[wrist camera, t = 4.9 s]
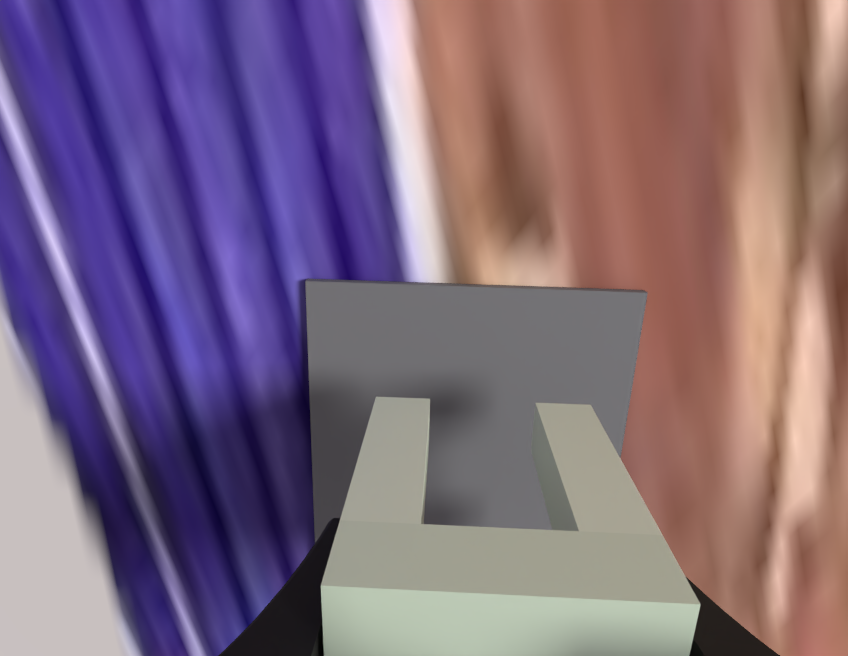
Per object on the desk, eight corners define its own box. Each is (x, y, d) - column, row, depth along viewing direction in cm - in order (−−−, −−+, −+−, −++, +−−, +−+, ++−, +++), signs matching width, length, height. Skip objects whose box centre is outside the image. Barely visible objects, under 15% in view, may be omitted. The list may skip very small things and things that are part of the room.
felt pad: (599, 564, 20) (601, 570, 19) (317, 554, 20) (315, 560, 19) (643, 290, 16) (647, 292, 16) (307, 278, 16) (305, 281, 16)
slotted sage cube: (568, 579, 16) (645, 854, 10) (376, 569, 16) (331, 835, 10) (590, 404, 14) (700, 604, 8) (376, 396, 14) (319, 585, 8)
